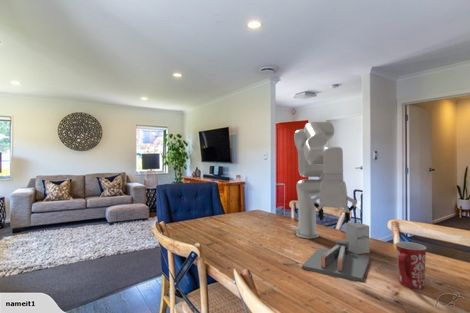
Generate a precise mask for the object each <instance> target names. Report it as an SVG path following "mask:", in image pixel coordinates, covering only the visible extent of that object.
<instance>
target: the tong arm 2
mask: <svg viewBox="0 0 470 313" xmlns="http://www.w3.org/2000/svg"><path fill="white" fill-rule="evenodd" d="M344 259H345V246H341V248H340V252H339V256H338V271H342V270H343V265H344Z"/></svg>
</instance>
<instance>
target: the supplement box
mask: <svg viewBox="0 0 470 313" xmlns="http://www.w3.org/2000/svg"><path fill="white" fill-rule="evenodd" d="M345 235H346V236H345V241H346V242H349V253H350V252H351V253H352V254H357V255H364V254H370V225H368V224H365V223H361V222H350V223H349V222H348V223H345Z"/></svg>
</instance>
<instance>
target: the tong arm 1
mask: <svg viewBox="0 0 470 313" xmlns="http://www.w3.org/2000/svg"><path fill="white" fill-rule="evenodd" d="M328 250H329V251H328V252H326V253H325V254H324V255H323V256H321V267H323V268H326V267H327V266H328V265H329V264H330V263H331V262H333V261H334V260H335V259H336V258H337V257H338V256H339V252H340V245H336V244H335V245H334V246H333V247H332V248H330V249H328Z"/></svg>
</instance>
